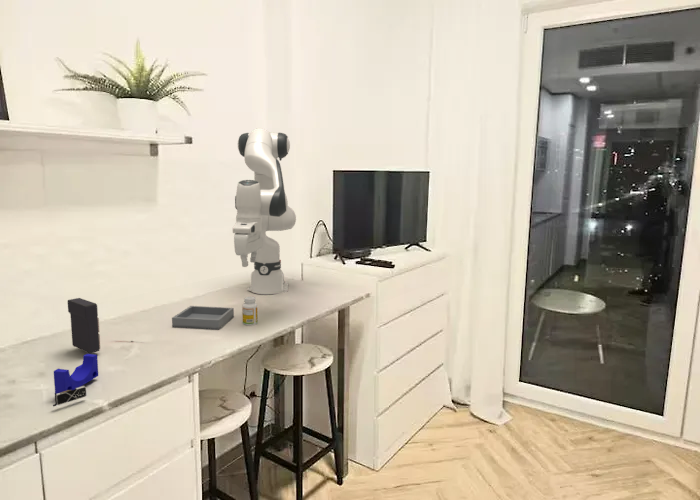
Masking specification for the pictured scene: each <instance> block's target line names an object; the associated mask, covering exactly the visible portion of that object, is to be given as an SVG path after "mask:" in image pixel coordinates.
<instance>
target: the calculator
mask: <svg viewBox="0 0 700 500" xmlns="http://www.w3.org/2000/svg"><path fill="white" fill-rule="evenodd" d="M98 311H99V309H98V303H96V302H93V301H90V300H86V299H84V298H81V297H78V298H77V297H76V298H71V299H68V300H67V312H68V313H69V314H70V327H71V340H72V341H71V343H72V346H73V347H75V348H77V349H79V350H81V351H83V352H85V353H87V354H93V353H96V352H100V349H101V338H100V337H101V335H100V334H99V333H100V319H99V317H98V316H99V312H98Z"/></svg>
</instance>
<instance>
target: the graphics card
mask: <svg viewBox="0 0 700 500" xmlns="http://www.w3.org/2000/svg"><path fill="white" fill-rule="evenodd" d="M86 397H87V387H86V386H85V385H82V386H81V387H78V388H75V389H74V390H70V391H69V390H67V391H64V392H60V393H57V394H56V393H55V392H54V401H55V402H54V404H52V406H53V407H57V406H60V405H63V404H67V403H69V402H72V401H76V400H79V399H82V398H86Z"/></svg>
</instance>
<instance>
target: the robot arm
mask: <svg viewBox="0 0 700 500" xmlns="http://www.w3.org/2000/svg"><path fill="white" fill-rule="evenodd" d="M290 149H291V143H290V140H289V136H288V135H287V134H286V133H283V132H272V131H271V132H270V131H268V129H265V128H261V127H258V128H255V129H253V130H252V131H251V132H245V133H242V134H240V135H239V136H238V140H237V150H238V152H239V154H240V155H241V156H242V157H244V163H245V164H246V166H247V167H248V169H249V170H251V171H252V172H254V173H253V175H254V179H244V180H240V181H238V182H237V186H236V194H235V196H234V205H235V206H234V208H235V209H236V217H235V224H234V225H233V227H232V233H233V234H234V236H233V244H234V245H233V246H234V252H235V255H236V256H240V259H241V266H242V268H247V267H248V266H249V261H250V263H253V267H254V268H253V269H254V270H253V271H252V272H251V274H250V286H248V287H247V291H248V292H252V293H253V294H258V295H276V294H282V292H283V293H287V292H288V291H289V282H286V281H285V276H284V272H283V271H282V260H281V258H280V254H281V253H280V250H281V249H280V244H279V242H278V241H277V240H275V239H273V238H272V237H269V236H267V233H266V232H279V231H287V230H291V229H293V228H294V226H295V224H296V221H297V215H296V212H295V211H294V210H293V208H291V207H290V206H289V205H288V198H287V195H286V191H285V185H284V184H285V183H284V178H283V171H282V166H281V163H280V161H282V159H284V158H286V156H288V155H289V151H290ZM248 255H250V257H249V261H248Z"/></svg>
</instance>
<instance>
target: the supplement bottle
mask: <svg viewBox="0 0 700 500" xmlns="http://www.w3.org/2000/svg"><path fill="white" fill-rule="evenodd" d="M243 300H244V301H243V302H244V303H243V304H242V307H241V308H242V312H241V313H242V314H241V315H242V325H244V326H255V325H257V324H258V303H256V297H255V296H245V297H244V298H243Z"/></svg>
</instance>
